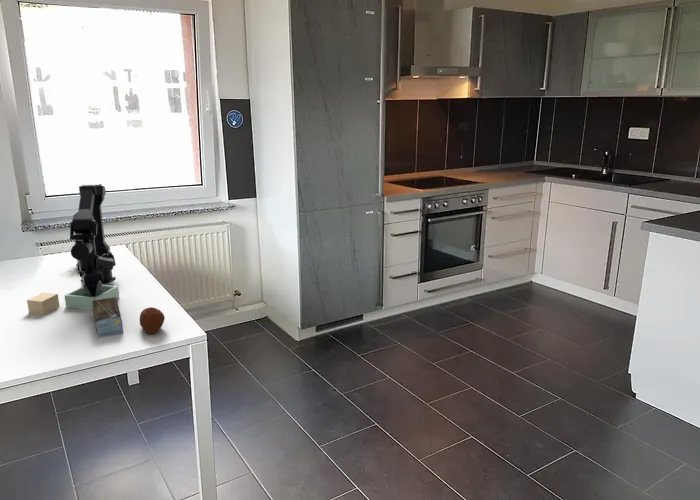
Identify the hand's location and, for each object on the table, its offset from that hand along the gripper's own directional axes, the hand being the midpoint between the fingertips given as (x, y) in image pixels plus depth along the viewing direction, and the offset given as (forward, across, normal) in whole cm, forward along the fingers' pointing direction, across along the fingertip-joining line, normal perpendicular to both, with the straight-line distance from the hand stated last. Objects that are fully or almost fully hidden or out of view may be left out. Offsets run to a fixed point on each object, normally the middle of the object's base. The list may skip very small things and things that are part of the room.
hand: (92, 293), depth 194 cm
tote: (+4, 0, 0) cm, 4 cm away
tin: (+2, 0, 0) cm, 2 cm away
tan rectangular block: (+4, +1, +16) cm, 16 cm away
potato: (+4, -36, -12) cm, 38 cm away
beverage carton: (+4, -24, -1) cm, 24 cm away
